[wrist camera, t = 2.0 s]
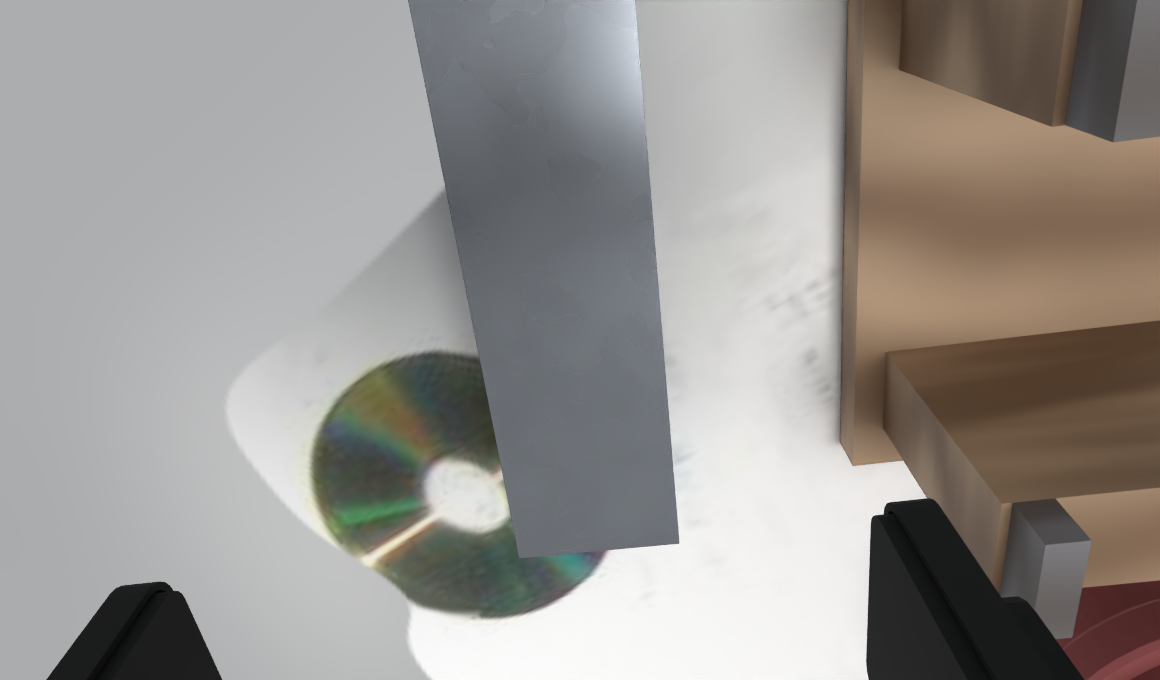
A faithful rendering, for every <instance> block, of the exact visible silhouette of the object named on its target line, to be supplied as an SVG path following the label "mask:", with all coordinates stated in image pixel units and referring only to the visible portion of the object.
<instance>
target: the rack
mask: <svg viewBox="0 0 1160 680" xmlns="http://www.w3.org/2000/svg"><path fill="white" fill-rule="evenodd" d="M840 443H841V445H842V447H843V449H844V450H845V452H846V454H847V456H848V458H849V460H850V462H851V464H852V466H856V465H865V464H875V463H884V462H893V461H904V462H905V464H906V465H907V467H908V469H909V470H910V472H911V473H912V475H913V476H914V478H915V480H916V481H917V483H918V484H919V486H920V487H921V489H922V491H923V492H924V494H925V495H926V497H927V498H932V499H934V500H935V501H936V502H937V503H938V504H939V506H940V507H941V508H942V510H943V511H944V513H945V514H946V516H947V517H948V519H949V520H950V522H951V523H952V525H953V526H954V528H955V529H956V531H957V532H958V534H959V535H960V537H961V538H962V540H963V541H964V543H965V544H966V546H967V547H968V548H969V550H970V551H971V553H972V554H973V556H974V557H975V559H976V560H977V562H978V563H979V565H980V566H981V568H982V569H983V571H984V572H985V574H986V575H987V577H988V578H989V580H990V581H991V583H992V584H993V585H994V587H995V588H996V590H997V591H998V593H999V594H1000V596H1001V597H1002V598H1003V597H1014V596H1019V597H1021V598H1022V599H1024V600H1026V601H1027V602H1028V603H1029V604H1030V605H1031V607H1032V608H1033V609H1034V610H1035V611H1036V612H1037V614H1038V615H1039V617H1040V618H1041V619H1042V621H1043V622H1044V624H1045V625H1046V626H1047V628H1048V629H1049V631H1050V632H1051V633H1052V635H1053V636H1054V638H1055V639H1063V638H1072V636H1073V631H1074V626H1075V621H1076V616H1077V611H1078V606H1079V601H1080V596H1081V591H1082V588H1085V587H1095V586H1106V585H1116V584H1127V583H1137V582H1148V581H1158V580H1160V0H848V34H847V90H846V146H845V203H844V259H843V315H842V372H841V428H840Z"/></svg>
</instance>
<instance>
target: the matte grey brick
mask: <svg viewBox="0 0 1160 680" xmlns="http://www.w3.org/2000/svg"><path fill="white" fill-rule="evenodd" d="M408 2H409V7H410V12H411V17H412V22H413V26H414V31H415V37H416V42H417V46H418V52H419V57H420V62H421V67H422V72H423V77H424V82H425V87H426V92H427V97H428V102H429V107H430V112H431V117H432V122H433V127H434V132H435V137H436V142H437V147H438V151H439V157H440V162H441V167H442V172H443V177H444V182H445V187H446V192H447V197H448V202H449V207H450V212H451V217H452V222H453V227H454V232H455V237H456V242H457V247H458V252H459V257H460V262H461V267H462V272H463V277H464V282H465V288H466V293H467V298H468V303H469V308H470V313H471V318H472V323H473V328H474V333H475V338H476V343H477V348H478V353H479V358H480V363H481V368H482V373H483V378H484V383H485V388H486V393H487V398H488V403H489V408H490V413H491V418H492V423H493V428H494V433H495V438H496V443H497V448H498V453H499V458H500V463H501V468H502V473H503V478H504V483H505V488H506V493H507V498H508V503H509V508H510V513H511V518H512V523H513V528H514V533H515V538H516V543H517V548H518V553H519V558H526V557H537V556H548V555H559V554H570V553H581V552H592V551H603V550H614V549H625V548H636V547H646V546H657V545H668V544H679V534H678V522H677V509H676V497H675V485H674V473H673V460H672V448H671V436H670V424H669V411H668V399H667V387H666V375H665V362H664V350H663V338H662V326H661V313H660V301H659V289H658V277H657V264H656V252H655V240H654V228H653V215H652V203H651V191H650V179H649V166H648V154H647V142H646V130H645V117H644V105H643V93H642V81H641V68H640V56H639V44H638V32H637V19H636V7H635V0H408Z"/></svg>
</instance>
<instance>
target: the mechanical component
mask: <svg viewBox="0 0 1160 680" xmlns="http://www.w3.org/2000/svg"><path fill="white" fill-rule="evenodd" d="M1056 640H1057V642H1058V643H1059V645H1060V646H1061V647H1062V649H1063V650H1064V652H1065V653H1066V654H1067V656H1068V657H1069V659H1070V660H1071V661H1072V663H1073V664H1074V666H1075V667H1076V668H1077V670H1078V671H1079V673H1080V674H1081V675H1082V677H1083V678H1084V680H1160V580H1158V581H1148V582H1137V583H1127V584H1116V585H1106V586H1095V587H1085V588H1082V591H1081V596H1080V601H1079V606H1078V611H1077V616H1076V621H1075V626H1074V631H1073V636H1072V638H1063V639H1056Z"/></svg>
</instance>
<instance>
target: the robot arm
mask: <svg viewBox="0 0 1160 680" xmlns="http://www.w3.org/2000/svg"><path fill="white" fill-rule="evenodd" d="M866 663H867V673H868V678H869V680H1084V678H1083V677H1082V675H1081V674H1080V673H1079V671H1078V670H1077V668H1076V667H1075V666H1074V664H1073V663H1072V661H1071V660H1070V659H1069V657H1068V656H1067V654H1066V653H1065V652H1064V650H1063V649H1062V647H1061V646H1060V645H1059V643H1058V642H1057V640H1056V639H1055V638H1054V636H1053V635H1052V633H1051V632H1050V631H1049V629H1048V628H1047V626H1046V625H1045V624H1044V622H1043V621H1042V619H1041V618H1040V617H1039V615H1038V614H1037V612H1036V611H1035V610H1034V609H1033V608H1032V607H1031V605H1030V604H1029V603H1028V602H1027V601H1026V600H1024V599H1022V598H1021V597H1019V596H1014V597H1003V598H1002V597H1001V596H1000V594H999V593H998V591H997V590H996V588H995V587H994V585H993V584H992V583H991V581H990V580H989V578H988V577H987V575H986V574H985V572H984V571H983V569H982V568H981V566H980V565H979V563H978V562H977V560H976V559H975V557H974V556H973V554H972V553H971V551H970V550H969V548H968V547H967V546H966V544H965V543H964V541H963V540H962V538H961V537H960V535H959V534H958V532H957V531H956V529H955V528H954V526H953V525H952V523H951V522H950V520H949V519H948V517H947V516H946V514H945V513H944V511H943V510H942V508H941V507H940V506H939V504H938V503H937V502H936V501H935V500H934V499H932V498H927V499H918V500H909V501H899V502H890V503H887V504H886V506H885V509H884V515H876V516H873V517H872V520H871V538H870V568H869V598H868V628H867V658H866ZM46 680H222V679H221V676H220V674H219V672H218V670H217V667H216V665H215V663H214V661H213V659H212V656H211V654H210V653H209V650H208V648H207V646H206V643H205V641H204V639H203V637H202V635H201V632H200V630H199V628H198V626H197V624H196V622H195V619H194V617H193V615H192V613H191V611H190V608H189V606H188V604H187V602H186V600H185V598H184V596H183V595H182V593H180V592H179V591H173V590H172V588H171V587H170V585H168V584H167V583H165V582H152V583H143V584H133V585H125V586H120V587H118V588H116V589H115V590H114V591H113V592H112V593H111V594H110V595H109V596H108V597H107V599H106V600H105V602H104V603H103V604H102V606H101V607H100V608H99V610H98V611H97V612H96V614H95V615H94V616H93V618H92V619H91V620H90V622H89V623H88V624H87V626H86V627H85V628H84V630H83V631H82V632H81V634H80V635H79V636H78V638H77V639H76V640H75V642H74V643H73V645H72V646H71V647H70V649H69V650H68V651H67V653H66V654H65V655H64V657H63V658H62V659H61V661H60V662H59V664H58V665H57V666H56V667H55V669H54V670H53V671H52V673H51V674H50V676H49V677H48V678H47V679H46Z"/></svg>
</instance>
